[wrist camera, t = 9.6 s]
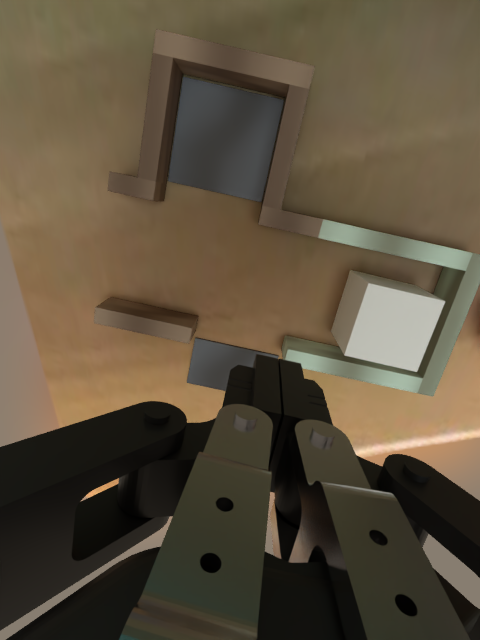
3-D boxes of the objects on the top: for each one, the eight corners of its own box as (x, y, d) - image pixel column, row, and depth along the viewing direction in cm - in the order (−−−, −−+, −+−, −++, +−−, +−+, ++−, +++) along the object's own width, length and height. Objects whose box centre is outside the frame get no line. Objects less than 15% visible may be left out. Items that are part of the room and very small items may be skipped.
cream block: (414, 284, 29) (445, 301, 24) (391, 345, 30) (416, 371, 26) (350, 269, 29) (368, 283, 24) (330, 331, 30) (344, 355, 25)
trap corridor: (514, 129, 25) (547, 120, 23) (397, 426, 32) (411, 448, 29) (140, 42, 25) (125, 21, 22) (103, 363, 32) (87, 379, 29)
